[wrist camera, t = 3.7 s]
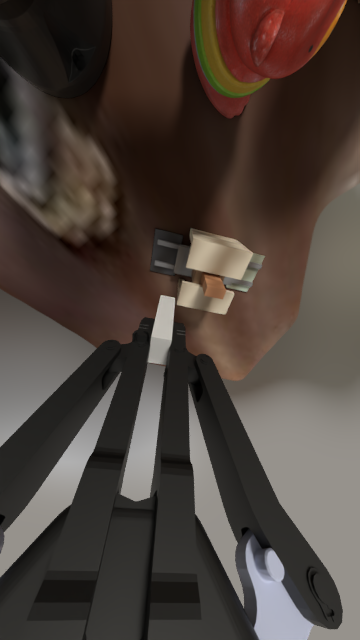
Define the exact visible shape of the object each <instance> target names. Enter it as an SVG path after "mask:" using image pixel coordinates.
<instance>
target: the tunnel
mask: <svg viewBox="0 0 360 640" xmlns="http://www.w3.org/2000/svg"><path fill="white" fill-rule="evenodd" d="M182 239H183V235H180V234H176V233H172V232H168V231H164V230H160V229H155V236H154V244H153V252H152V260H151V268H150V271H154V272H159V273H163V274H168V275H172V276H175V273H174V267H175V262H176V258H177V253H178V248H179V244H180V245H182V244H181V243H182ZM190 240H191V247H190V246H189V247H190V251H189V255H188V259H187V263H186V268H190V269H195V270H199V271H204V272H208V273H212V274H217V275H221V276H225V277H230V278H234V279H233V281H232V283H231V286H230V285H226V287H227V288H231V289H236V290H240V291H245V292H247V291H248V289H249V287H252V285H253V283H252V281H253V279H254V277H255V275H256V273H257V271H258V269H261V267H262V265H261V263H262V261H263V259H264V257H265V256H263V255H259V254H255V253H252V252H251V251H250V250H249V249H247V248H246V247H245V246H244V245H242V244H241V243H240V242H239V241H238V240H235V239H231V238H227V237H223V236H220V235H216V234H212V233H208V232H204V231H200V230H196V229H192V228H191V230H190ZM184 246H186V245H184ZM233 297H234V293H233V292H232V291H228V290H226V293H225V296H224V298H223V299H218V298H213V297H208V296H204V292H203V287H202V285H200V284H196V283H191V282H187V281H185V279H180V278H179V281H178V291H177V305H180V306H185V307H190V308H195V309H200V310H205V311H210V312H215V313H220V314H226V312H227V310H228V307H229V305H230V303H231V301H232V299H233Z"/></svg>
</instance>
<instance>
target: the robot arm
mask: <svg viewBox="0 0 360 640" xmlns="http://www.w3.org/2000/svg"><path fill="white" fill-rule="evenodd" d="M111 32H112V0H0V56H1V57H2V58H3V59H4V60H5V62H6V63H7V64H8V65H9V66H10V67H12V68H13V69H14V70H15V71H16V72H17V73H18V74H19V75H21V76H22V77H23V78H25V79H26V80H27V81H29V82H30V83H31V84H33V85H34V86H35V87H37V88H38V89H40V90H42V91H43V92H45V93H47V94H50V95H52V96H56V97H60V98H73V97H77V96H80V95H82V94H84V93H85V92H87V91H88V90H89V89H90V88H91V87H92V86H93V85H94V84H95V82H96V81H97V80H98V78H99V76H100V74H101V73H102V70H103V68H104V65H105V63H106V59H107V56H108V52H109V47H110V41H111ZM174 307H175V298H174V297H168V296H163V295H161V297H160V301H159V305H158V310H157V314H156V318H155V319H152V318H146V317H145V318H143V319H142V320H141V323H140V326H139V329H138V330H136V331H135V332H134V333H133V339H132V342H131V343H128V344H120V343H119V342H118V341H116V340H108V341H105V342H103V343H102V344H101V345H100V346H99V347H98V348H97V349H96V350H95V351H94V352H93V353H92V354H91V355H90V356H89V358H87V359H86V360H85V362H83V363H82V365H81V366H80V367H79V368H78V369H77V370H76V371H75V372H74V373H73V374H72V375H71V376H70V377H69V378H68V379H67V380H66V381H65V382H64V383H63V384H62V385H61V386H60V387H59V388H58V389H57V390H56V391H55V392H54V393H53V394H52V395H51V396H50V397H49V398H48V399H47V400H46V401H45V402H44V403H43V404H42V405H41V406H40V407H39V408H38V409H37V410H36V411H35V412H34V413H33V414H32V415H31V416H30V417H29V418H28V420H27V421H26V422H25V423H24V424H23V425H22V426H21V427H20V428H19V429H18V430H17V431H16V432H15V433H14V434H13V435H12V436H11V437H10V438H9V439H8V440H7V441H6V442H5V443H4V444H3V445H2V446H1V447H0V553H1V550H2V547H3V544H4V532H5V530H6V529H7V528H8V527H9V526H10V525H11V524H12V523H13V522H14V520H15V519H16V518H17V517H18V516H19V514H20V513H21V512H22V511H23V510H24V509H25V507H26V506H27V505H28V503H29V502H30V500H31V499H32V498H33V496H34V495H35V494H36V492H37V491H38V490H39V488H40V487H41V485H42V484H43V482H44V481H45V479H46V478H47V477H48V475H49V474H50V472H51V471H52V469H53V468H54V466H55V465H56V464H57V462H58V461H59V459H60V458H61V456H62V455H63V453H64V452H65V451H66V449H67V448H68V446H69V445H70V443H71V441H73V439H74V438H75V436H76V435H77V433H78V432H79V430H80V429H81V427H82V426H83V425H84V423H85V422H86V420H87V419H88V417H89V416H90V415H91V413H92V412H93V410H94V409H95V407H96V406H97V405H98V403H99V402H100V400H101V399H102V397H103V396H104V394H105V393H106V392H107V390H108V389H109V387H110V386H111V384H112V383H113V382H114V380H115V379H116V377H117V376H118V374H119V373H120V372H122V373H121V376H120V379H119V381H118V384H117V387H116V390H115V393H114V396H113V398H112V401H111V404H110V407H109V410H108V412H107V416H106V418H105V421H104V424H103V427H102V429H101V432H100V435H99V438H98V441H97V444H96V447H95V449H94V452H93V453H92V454H91V456H90V457H89V459H88V461H87V464H86V466H85V469H84V472H83V474H82V477H81V480H80V483H79V485H78V488H77V491H76V493H75V496H74V499H73V502H72V504H71V505H70V506H69V507H67V508H66V509H65V510H64V511H63V512H61V513H60V514H59V515H58V516H57V517H56V518H55V519H54V521H52V523H51V524H50V525H49V526H48V527H47V528H46V529H45V530H44V531H43V532H42V533H41V534H40V535H39V536H38V538H37V539H36V540H35V541H34V542H33V543H32V544H31V545H30V546H29V547H28V548H27V549H26V550H25V552H24V553H23V554H22V555H21V556H20V557H19V558H18V559H17V560H16V561H15V562H14V563H13V564H12V566H11V567H10V568H9V569H8V570H7V571H6V572H5V573H4V574H3V575H2V576H1V577H0V640H307V639H308V636H309V633H310V631H311V628H312V626H313V625H317V626H321V627H324V628H327V629H338V627H339V626H340V624H341V623H342V613H343V610H342V605H341V600H340V595H339V593H338V590H337V588H336V585H335V583H334V581H333V579H332V577H331V576H330V574H329V572H328V571H327V569H326V567H325V566H324V565H323V563H322V562H321V560H320V559H319V558H318V556H317V555H316V554H315V552H314V551H313V549H312V548H311V547H310V545H309V544H308V542H307V541H306V540H305V538H304V537H303V535H302V534H301V533H300V531H299V530H298V528H297V527H296V526H295V524H294V523H293V521H292V520H291V519H290V518H289V516H288V515H287V513H286V512H285V510H284V509H283V508H282V506H281V505H280V504H279V502H278V499H277V497H276V495H275V493H274V491H273V489H272V486H271V484H270V482H269V480H268V478H267V476H266V474H265V471H264V469H263V467H262V465H261V463H260V461H259V458H258V457H257V454H256V452H255V450H254V448H253V446H252V443H251V441H250V439H249V437H248V435H247V433H246V431H245V429H244V426H243V424H242V422H241V420H240V418H239V416H238V414H237V411H236V409H235V407H234V405H233V403H232V401H231V399H230V396H229V394H228V392H227V390H226V388H225V386H224V383H223V381H222V379H221V377H220V375H219V373H218V370H217V368H216V366H215V364H214V362H213V360H212V358H211V357H209V356H208V355H206V354H199V355H198V356H195V355H193V354H191V353H189V352H188V351H187V348H186V342H185V326H184V325H183V324H182V323H176V322H173V319H174ZM148 362H150V363H157V364H163V365H166V368H165V372H164V383H163V393H162V401H161V410H160V420H159V429H158V438H157V446H156V456H155V465H154V474H153V480H152V485H151V493H150V498H147V499H144V500H141V501H137V502H135V501H133V500H131V499H129V498H126V497H124V496H122V495H120V493H121V488H122V483H123V477H124V472H125V467H126V462H127V458H128V453H129V448H130V443H131V439H132V434H133V430H134V425H135V420H136V416H137V411H138V406H139V401H140V396H141V392H142V387H143V383H144V378H145V373H146V369H147V363H148ZM188 384H189V387H190V391H191V394H192V397H193V401H194V405H195V408H196V412H197V415H198V419H199V422H200V426H201V429H202V433H203V436H204V440H205V443H206V446H207V450H208V453H209V457H210V461H211V464H212V468H213V471H214V475H215V478H216V482H217V485H218V489H219V492H220V495H221V499H222V502H223V506H224V508H225V512H226V515H227V518H228V521H229V524H230V526H231V529H232V531H233V533H234V536H235V538H236V540H237V542H238V545H237V547H236V554H235V557H236V558H235V561H236V567H237V571H238V574H239V577H240V581H241V583H242V587H243V593H244V608H243V606H242V604H241V602H240V600H239V598H238V596H237V594H236V592H235V590H234V588H233V586H232V584H231V582H230V580H229V578H228V576H227V574H226V572H225V570H224V568H223V566H222V564H221V562H220V560H219V558H218V556H217V554H216V552H215V550H214V548H213V546H212V544H211V542H210V540H209V538H208V536H207V534H206V532H205V530H204V528H203V526H202V524H201V522H200V520H199V519H198V517H197V516H196V515H195V504H194V503H195V502H194V476H193V467H192V464H191V462H190V448H189V406H188Z"/></svg>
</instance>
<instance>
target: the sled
mask: <svg viewBox="0 0 360 640" xmlns="http://www.w3.org/2000/svg"><path fill="white" fill-rule="evenodd" d="M189 251H190V247H189V246H184V245H180V244H179V248H178V253H177V258H176V262H175V267H174V273H176V274H181V275H185V276H190V277H192V283H196V284H200V285H202V287H203V292H204V296H208V297H213V298H218V299H223V298H224V296H225V293H226V289H225V287H224V284H225V285H230V286H231V283H232V281H233V279H234V278H230V277H225V276H221V275H217V274H212V273H208V272H204V271H199V270H195V269H190V268H186V263H187V259H188V255H189Z"/></svg>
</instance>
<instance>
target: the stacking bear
mask: <svg viewBox="0 0 360 640" xmlns="http://www.w3.org/2000/svg"><path fill="white" fill-rule="evenodd" d="M346 2H347V0H193V2H192V10H191V23H190V31H191V46H192V52H193V57H194V62H195V65H196V69H197V73H198V76H199V79H200V81H201V84H202V86H203V89H204V91H205V93H206V95H207V97H208V98H209V100H210V101H211V103H212V104H213V106H214V107H215V108H216V109H217V110H218V111H219V112H220V113H221V114H222V115H223V116H225V117H226V118H229V119H231V118H233V117H234V116H235V115H237V116H238V115H240V114H241V113H242V111H243V109H244V106H245V105H246V104H247V103H248V101H249V98H250V95H251V94H252V93H253V92H255V91H257V90H258V89H260V88H261V87H262V86H263V85H265V84H266V83H267V82H268V81H269V80H270V79H279V78H284V77H286V76H289V75H291V74H293V73H294V72H296V71H297V70H299V69H300V68H301V67H303V66H304V65H305V64H306V63H307V62H308V61H309V60H310V59H311V58H312V57H313V56H314V55H315V54H316V53H317V52H318V50H319V49H320V48H321V46H322V45H323V44H324V43H325V41H326V40H327V38H328V37H329V36H330V34H331V33H332V31H333V29H334V27H335V25H336V23H337V21H338V19H339V17H340V15H341V13H342V11H343V9H344V7H345V4H346Z"/></svg>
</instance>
